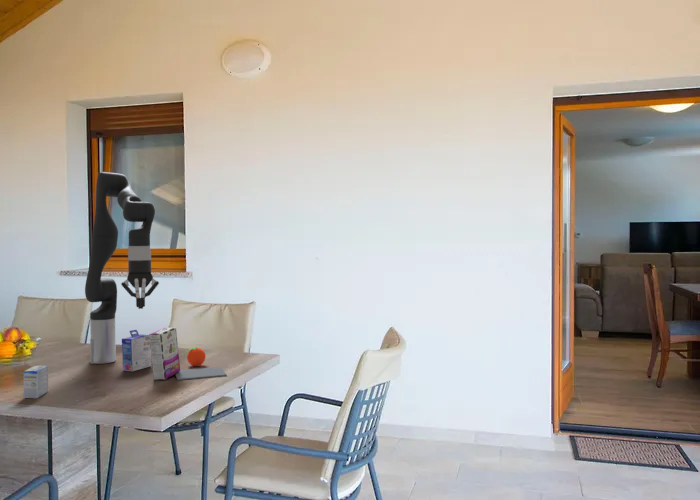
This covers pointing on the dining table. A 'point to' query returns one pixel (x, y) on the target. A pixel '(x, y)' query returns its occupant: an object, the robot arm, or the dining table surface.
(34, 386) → the medicine box
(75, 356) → the dining table surface
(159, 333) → the candy bar box
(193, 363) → the clementine
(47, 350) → the dining table surface
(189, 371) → the mat
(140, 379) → the dining table surface
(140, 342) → the ink cartridge box
